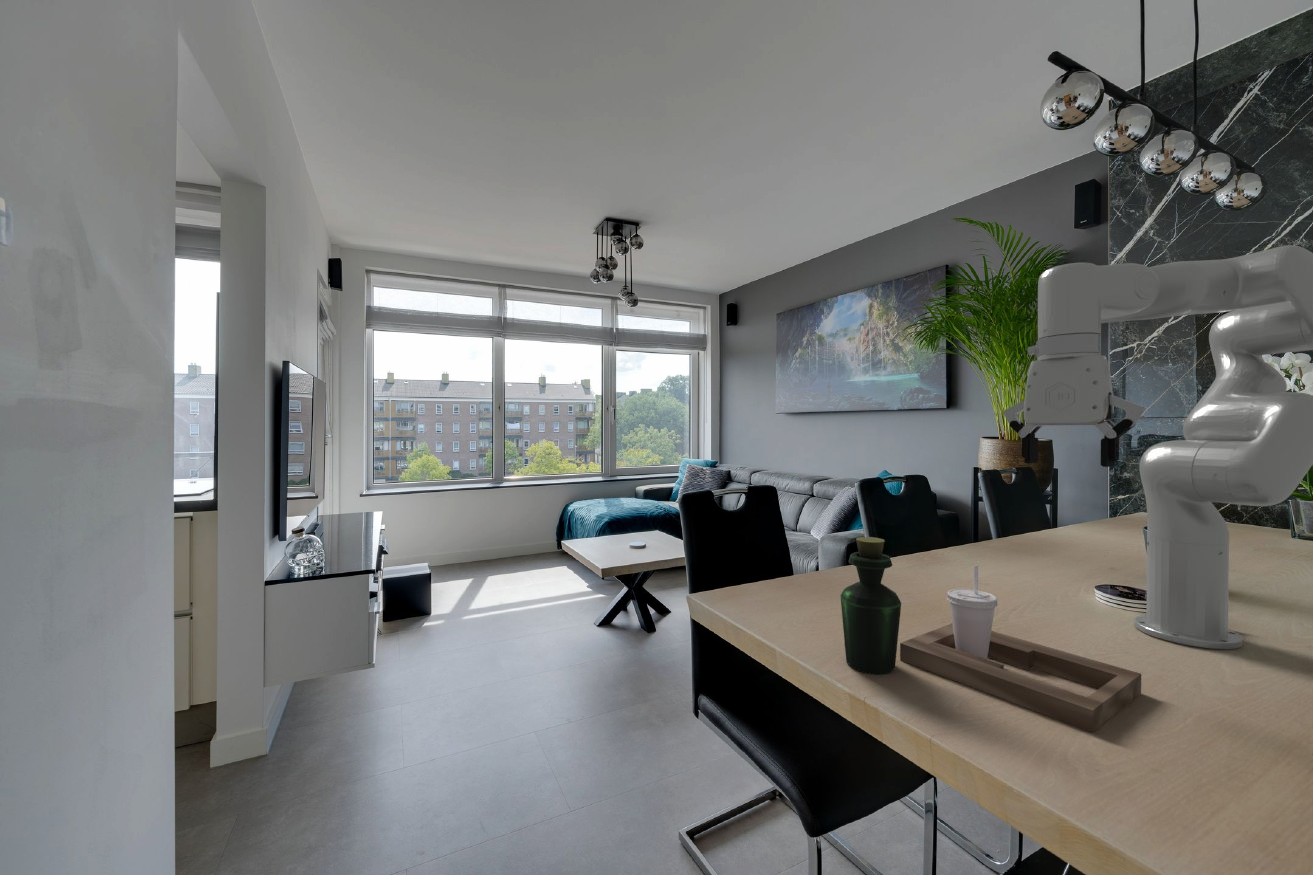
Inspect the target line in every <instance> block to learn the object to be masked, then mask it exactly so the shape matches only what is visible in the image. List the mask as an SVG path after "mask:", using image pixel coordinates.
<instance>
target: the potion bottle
mask: <svg viewBox="0 0 1313 875" xmlns="http://www.w3.org/2000/svg"><path fill="white" fill-rule="evenodd" d="M855 540H856V546H857V550H858V551H856V552H852V553H851V554H850V555H849V559H848V563H849V564H850V565H852V566H855V568H856V571H857V572H856V573H857V575H858V579H859V581H857V582H855V583H853V584H851V585H848V586H846V587H845V588H844V589H843V590H842V592H840V593H841V594H840V606H841V616H842V617H841V618H842V628H843V638H844V639H843V640H844V649H845V650H844V651H845V659H846V663H847V664H848V665H849V666H850V667H851V668H852V669H854V670H856V671H859V672H860V673H861V672H862V673H866V674H872V675H885V674H889V673H891V672H892V671H893V670H894V669H895V668H896V663H897V662H896V661H897V652H898V650H897V649H898V642H899V641H898V640H899V631H900V620H901V611H902V601H901V599H900V598H899V596H898V593H897V592H895V591H894V590H892V589H891V588H889V587H887V586H886V585H885V584H883V583H882V580H883V576H884V574H885V569H889V568H891V567H893V566H894V565H893V563H892V559H891V557H890V556H889V555H887V554H884V553H883V550H884V546H885V545H884V544H885V542H886V540H885V539H883V538H879V537H873V536H860V537H856V539H855Z"/></svg>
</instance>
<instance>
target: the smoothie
mask: <svg viewBox="0 0 1313 875" xmlns="http://www.w3.org/2000/svg"><path fill="white" fill-rule="evenodd" d="M946 594H947V596H946V600H947V601H948V602H949V608H950V615H951V623H952V624H953V632H954V639H955V647H956V649H957V650H960V651H963V652H966V653H969V654H972V655H975V656H978V657H981V658H984V659H987V660H988V658H989V657H988V650H989V643H990V636H991V631H993V630H992V627H993V621H994V615H995V608H997V607H998V597H996V596H995V595H994V594H992V593H990V592H986V591H981V590H979V565H978V564H973V589H970V588H954V589H950V590H947V592H946Z"/></svg>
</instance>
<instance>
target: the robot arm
mask: <svg viewBox="0 0 1313 875" xmlns="http://www.w3.org/2000/svg"><path fill="white" fill-rule="evenodd" d="M1225 312H1227V313H1225ZM1214 313H1215V314H1216V313H1225V314H1223V315H1221V316H1219V317H1218V318H1217V319H1215V321H1214V322H1213V324H1212V325H1211V327H1210V330H1209V334H1208V342H1209V346H1210V351H1211V356H1212V360H1213V364H1214V368H1215V379H1214V381H1213V382H1212V383H1211V385H1210V386H1209V388H1208V389H1207V390H1206V391H1205V393H1204V394H1203V395H1202V397H1201V398H1200V399H1199V400H1198V402H1197V403H1196V405H1195V406H1194V407H1193V409H1192V410H1191V411H1190V412H1189V414H1188V415H1187V417H1186V419H1185V420H1184V424H1183V426H1182V434H1183V437H1184V439H1179V440H1177V439H1176V440H1174V439H1173V440H1169V441H1167V440H1166V441H1162V442H1158V443H1155V444H1154V445H1151V446H1150V447H1148V448H1147V449H1146V450H1145V451H1144V453H1143V454H1142V456H1141V457H1140V460H1139V475H1140V480H1141V485H1142V488H1143V491H1144V496H1145V503H1146V522H1147V526H1146V528H1147V529H1146V531H1147V534H1146V614H1141V615H1137V616H1136V617H1134V620H1133V625H1134V627H1135V628H1136V629H1137V630H1138V631H1141V632H1142V633H1144V634H1146V635H1149V636H1152V637H1155V638H1157V639H1161V640H1164V641H1168V642H1173V643H1175V644H1176V643H1177V644H1181V645H1186V646H1192V647H1197V648H1205V649H1212V650H1213V649H1214V650H1233V649H1238V648H1241V647H1242V646H1243V645H1244V643H1243V636H1241V634H1239V633H1237V632H1236V631H1234V630H1231V629H1229V592H1230V591H1229V585H1230V584H1229V582H1230V581H1229V576H1230V575H1229V571H1230V570H1229V569H1230V530H1229V527H1228V525H1227V522H1226V520H1225V518H1224V517H1223V516H1222V514H1221V513H1220V512H1219V510H1218V509H1217V507H1216V506H1215V505H1214V504H1213V503H1221V504H1230V505H1240V506H1252V507H1271V506H1275V505H1278V504H1281V503H1283V502H1284V501H1286V500H1287V499H1288V498H1289V497H1290V496H1291V495H1292V494H1293V493H1294V491H1295V490H1296V489H1297V487H1298V486H1299V485H1300V483H1301V482H1302V480H1303V479H1304V477H1305V476H1306V475H1307V474H1308V472H1309V470H1310V469H1311V467H1312V466H1313V394H1310V393H1306V392H1298V391H1296V392H1295V391H1293V392H1292V391H1287V389H1288V386H1287V381H1286V379H1285V378H1284V377H1283V374H1281V373H1280V372H1279V371H1278V370H1277V369H1276V368H1275V367H1274V366H1272V365H1271V364H1269V363H1267V362H1266V361H1265V359H1264V358H1263V356H1266V355H1274V354H1285V353H1293V352H1295V353H1296V352H1306V351H1313V252H1312V251H1310V250H1308V249H1307V248H1305V247H1302V246H1299V245H1293V244H1288V245H1282V246H1277V247H1273V248H1269V249H1264V250H1260V251H1256V252H1252V253H1248V254H1244V255H1240V256H1234V257H1230V258H1224V259H1222V258H1221V259H1207V260H1187V261H1186V260H1184V261H1183V260H1181V261H1174V262H1168V263H1162V264H1158V265H1154V266H1147V265H1144V264H1141V263H1135V262H1134V263H1131V262H1127V263H1126V262H1124V263H1116V264H1115V263H1114V264H1107V265H1106V264H1105V265H1103V264H1102V265H1097V264H1095V263H1092V262H1073V263H1066V264H1061V265H1056V266H1052V267H1051V268H1048V269H1046V270H1044V271H1043V272H1042V273H1041V274H1040V276H1039V278H1038V284H1037V340H1036V342H1035V345H1032V346H1028V347H1027V354H1028V356H1033V355H1034V356H1035V358H1036V359H1037V360H1033V361H1031V362H1030V364H1029V368H1028V373H1027V378H1026V383H1025V385H1026V386H1025V391H1024V399H1023V400H1022V401H1020V402H1018V403H1015V404H1014V405H1012V406H1010V407H1008V408H1006V409H1004V411H1002V413H1003V416H1004V418H1005V419H1006V422H1008V424H1009V427H1010V428H1011V429H1012V430H1013V431H1014V432H1015V433H1016V434H1018V437H1020V438H1021V458H1023V460H1024V464H1037V463H1038V462H1039V438H1038V437H1036V434H1037V433H1038V432H1039V431H1040V430H1041V429H1042V428H1043V427H1044V426H1095V427H1096V428H1097V429H1098V430H1099V431H1100V432H1101V433H1102V434H1103V435H1104V437H1102V438H1101V439H1100V466H1101V467H1103V468H1108V467H1111V468H1112V467H1115V466H1116V465H1115V463H1116V462H1118V461H1119V459H1120V439H1121V438H1122V437H1123V436H1124V435H1125V434H1126V433H1128V432H1129V431H1130V430H1131V429H1132V428H1134V427H1135V426H1136V423H1137V421H1139V419H1140V418H1141V417H1142V415H1143V413H1144V412H1145V406H1143V405H1140V404H1138V403H1134V402H1133V401H1131V400H1130V401H1129V400H1126V399H1123V398H1121V397H1118V396H1116V395H1114V392H1113V391H1114V390H1113V383H1112V377H1111V372H1110V366H1109V363H1108V359H1107V356H1106V355H1101V353H1102V352H1101V351H1102V350H1101V349H1102V324H1105V323H1106V324H1107V323H1115V322H1126V321H1129V322H1130V321H1142V320H1155V319H1162V318H1163V319H1164V318H1170V317H1181V316H1190V315H1203V314H1204V315H1205V314H1214ZM1114 408H1118V409H1120V410H1123V411H1125V415H1124V418H1123V419H1122V420H1121V421H1120V422H1118V423H1116V424H1115V423H1114V422H1113V421H1112V420H1113V418H1114V415H1115V414H1114V413H1115V411H1114V410H1115V409H1114ZM1022 412H1023V420H1024V422H1025V424H1024V423H1023V422H1022V421H1021V420H1020V418H1019V414H1020V413H1022Z"/></svg>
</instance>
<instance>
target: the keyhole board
mask: <svg viewBox="0 0 1313 875" xmlns="http://www.w3.org/2000/svg"><path fill="white" fill-rule="evenodd" d="M899 645H900V646H899V661H902V662H904V663H908V664H910V665H912V666H915V667H918V668H920V669H923V670H925V671H928V672H931V673H933V674H936V675H939V676H940V677H943V678H944V677H945V678H946V679H950V680H952V681H955V682H958V683H959V684H963V685H965V686H968V687H971V688H974V689H975V690H979V691H981V692H984V693H987V694H989V695H991V696H994V697H997V698H1000V699H1003V700H1004V701H1007V702H1010V703H1013V704H1015V705H1018V706H1021V707H1024V708H1025V709H1029V710H1032V711H1034V712H1037V713H1039V714H1042V715H1044V716H1048V717H1050V718H1052V719H1055V720H1058V721H1061V722H1063V723H1065V724H1068V725H1071V726H1074V727H1076V728H1079V729H1082V730H1085V731H1087V732H1090V733H1094V732H1095V731H1096V730H1098V729H1099V728H1100V727H1101V726H1102V725H1104V724H1105V723H1106V722H1108V721H1109V720H1110V719H1111V718H1112V717H1114V716H1115V715H1116V714H1117V713H1119V712H1120V711H1121V710H1122V709H1124V708H1125V707H1126V706H1127V705H1128V704H1130V703H1131V702H1132V701H1133V700H1135V699H1136V698H1138V697H1139V696H1140V695H1141V694H1142V673H1140V672H1137V671H1133V670H1131V669H1127V668H1123V667H1119V666H1116V665H1113V664H1108V663H1105V662H1103V661H1097V660H1095V659H1092V658H1088V657H1086V656H1085V657H1083V656H1080V655H1077V654H1074V653H1070V652H1066V651H1064V650H1060V649H1056V648H1053V647H1049V646H1046V645H1042V644H1039V643H1035V642H1032V641H1028V640H1025V639H1022V638H1018V637H1014V636H1011V635H1008V634H1003V633H1000V632H997V631H994V630H991V636H990V643H989V650H988V657H987V659H984V658H981V657H978V656H975V655H972V654H969V653H966V652H963V651H960V650H957V649H956V647H955V639H954V632H953V624H952V622H951V623H949V624H947V625H943V626H941V627H939V628H936V629H933V630H931V631H928V632H926V633H923V634H920V635H917V636H915V637H912V638H910V639H907V640H904V641H902V642H900V643H899ZM988 658H990V659H993V660H996V661H997V662H995V661H992V660H990V659H988ZM998 661H999V662H1001V663H998ZM1002 663H1005V664H1008V665H1010V666H1011V665H1012V666H1014V667H1016V668H1020V669H1023V670H1026V671H1029V670H1032V669H1035V670H1039V671H1042V672H1045V673H1048V674H1051V675H1054V676H1056V677H1057V676H1058V677H1061V678H1064V679H1066V680H1069V681H1074V682H1077V683H1080V684H1082V685H1086V686H1088V687H1092V688H1095V689H1097V690H1095V691H1093V692H1092V693H1091V694H1090V695H1088V696H1084V695H1081V694H1078V693H1075V692H1072V691H1069V690H1066V689H1063V688H1060V687H1057V686H1055V685H1051V684H1048V683H1046V682H1043V681H1040V680H1038V679H1037V680H1036V679H1033V678H1031V677H1027V676H1025V675H1022V674H1019V673H1017V672H1016V673H1015V672H1013V671H1010V670H1007V669H1005V665H1004V664H1002Z"/></svg>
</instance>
